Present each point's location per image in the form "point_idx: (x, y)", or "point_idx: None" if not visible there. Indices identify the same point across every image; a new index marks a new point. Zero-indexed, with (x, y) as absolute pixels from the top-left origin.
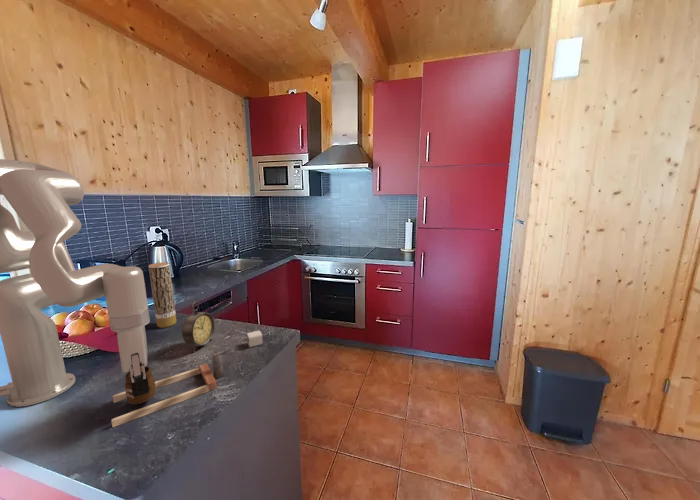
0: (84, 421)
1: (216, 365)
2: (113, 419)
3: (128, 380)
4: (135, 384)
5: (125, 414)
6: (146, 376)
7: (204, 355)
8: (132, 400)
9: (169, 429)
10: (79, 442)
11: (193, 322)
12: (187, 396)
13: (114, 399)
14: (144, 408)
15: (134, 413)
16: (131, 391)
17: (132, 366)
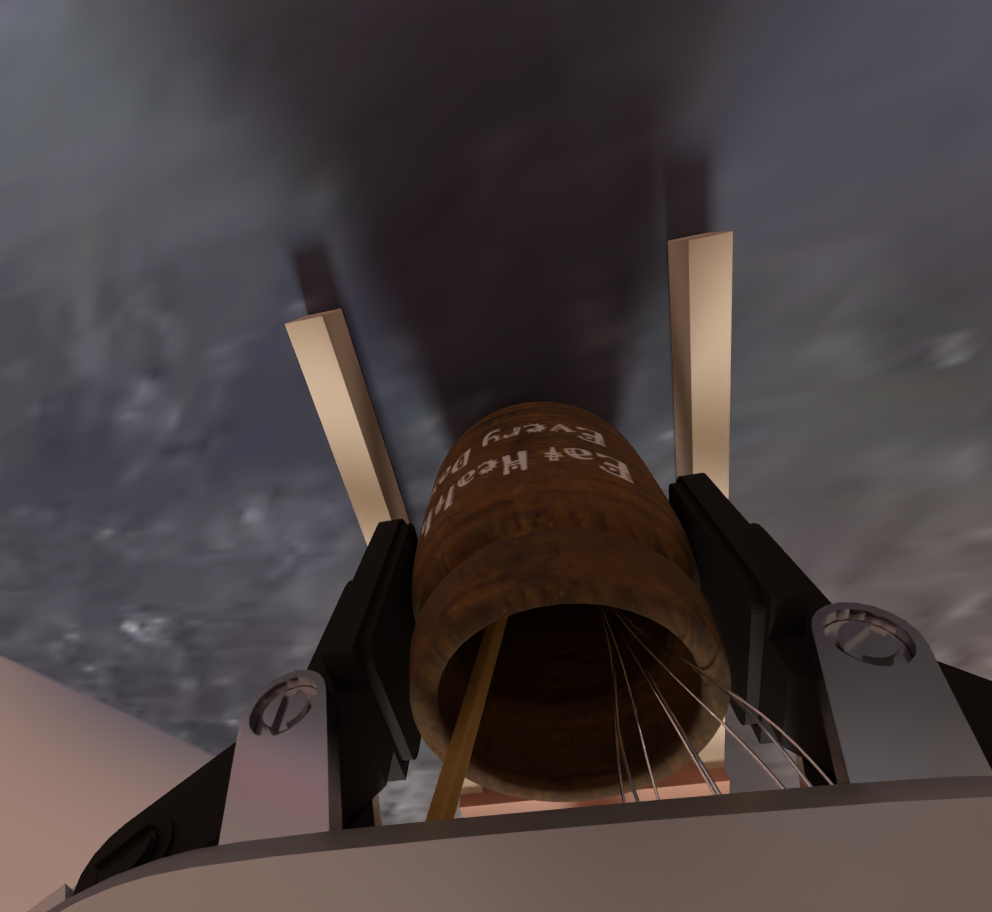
0: (494, 23)
1: None
2: (312, 332)
3: (442, 596)
4: (310, 669)
5: (345, 411)
6: (401, 775)
7: None
8: (441, 467)
9: (194, 621)
10: (194, 87)
11: None
12: None
13: (678, 252)
14: (373, 522)
15: (339, 468)
16: (427, 522)
17: (813, 636)
